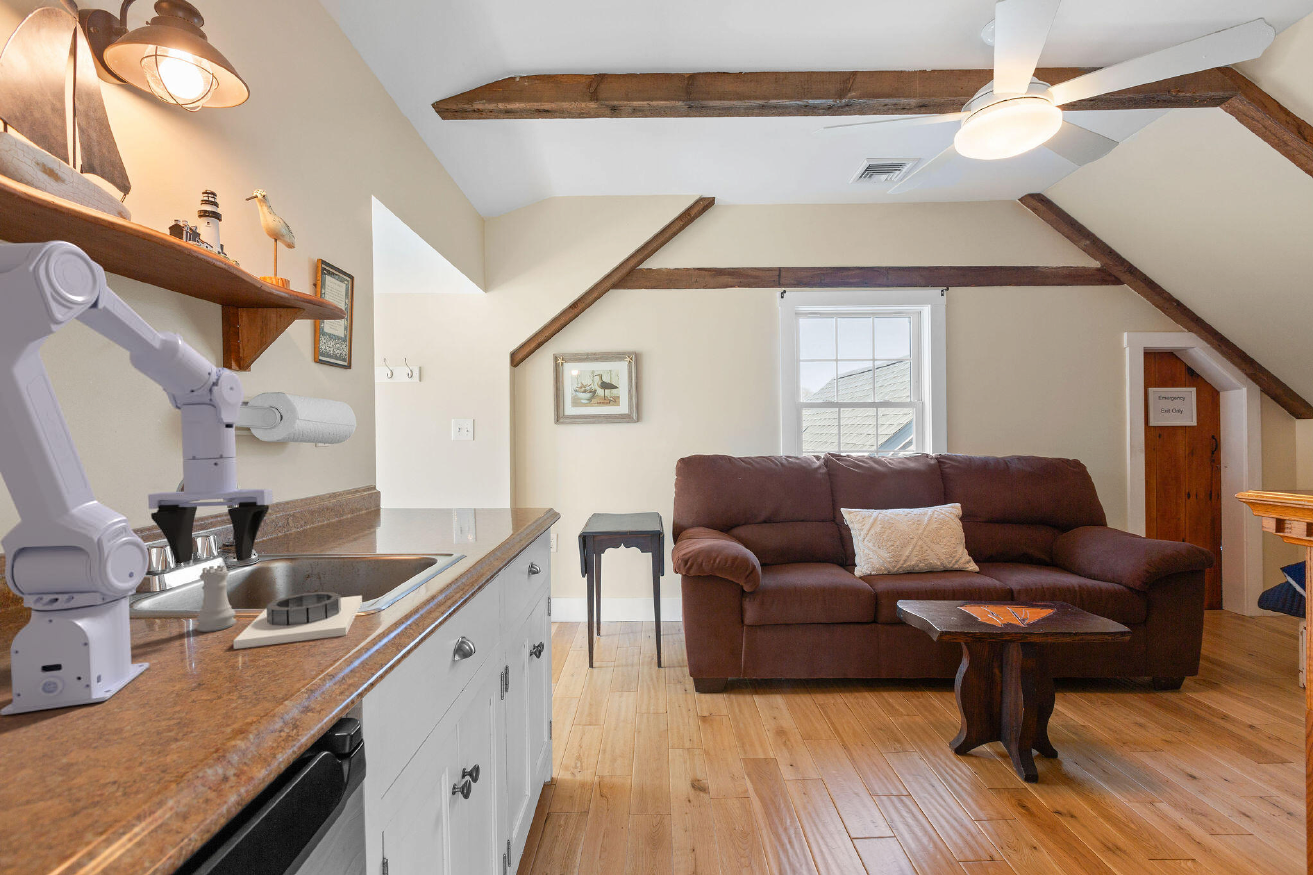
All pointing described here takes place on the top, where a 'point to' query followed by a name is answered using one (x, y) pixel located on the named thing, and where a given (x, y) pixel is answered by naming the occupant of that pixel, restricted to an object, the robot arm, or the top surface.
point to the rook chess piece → (215, 601)
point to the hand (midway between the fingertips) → (214, 560)
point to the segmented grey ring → (303, 608)
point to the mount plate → (299, 627)
